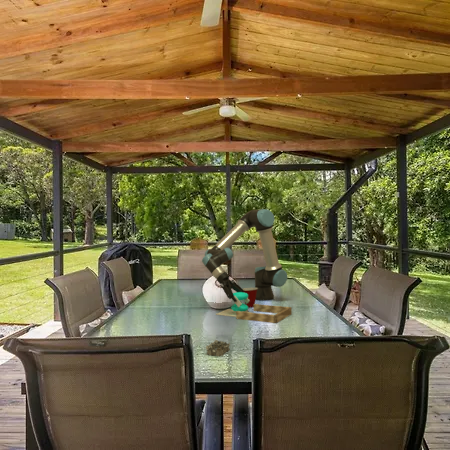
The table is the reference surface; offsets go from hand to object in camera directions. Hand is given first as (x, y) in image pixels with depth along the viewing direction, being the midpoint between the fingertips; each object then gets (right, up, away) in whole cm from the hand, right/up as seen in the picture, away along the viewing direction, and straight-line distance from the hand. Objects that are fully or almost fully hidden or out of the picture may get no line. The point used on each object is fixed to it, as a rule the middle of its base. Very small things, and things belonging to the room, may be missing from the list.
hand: (244, 303), depth 229 cm
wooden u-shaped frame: (+11, -6, -5) cm, 14 cm away
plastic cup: (+5, -7, +23) cm, 25 cm away
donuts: (-3, -4, +1) cm, 5 cm away
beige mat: (-7, -7, +5) cm, 11 cm away
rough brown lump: (-14, -7, -67) cm, 69 cm away
